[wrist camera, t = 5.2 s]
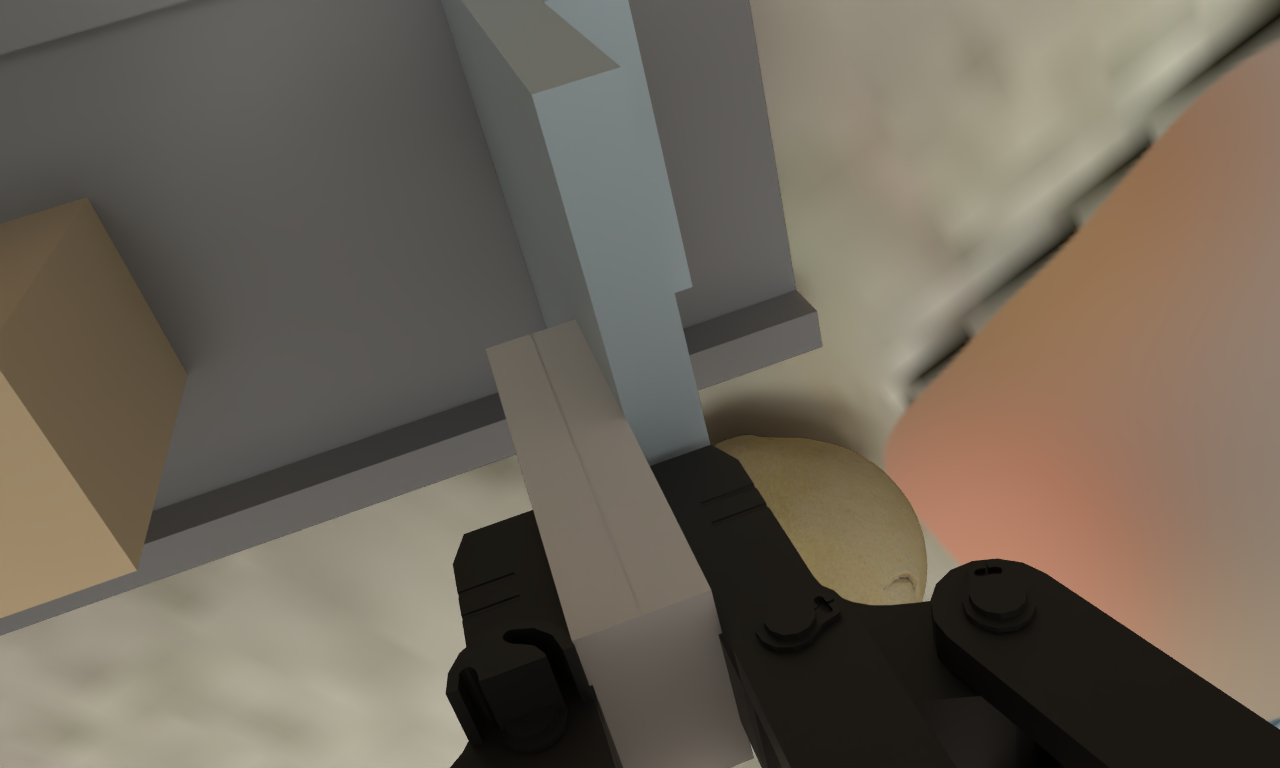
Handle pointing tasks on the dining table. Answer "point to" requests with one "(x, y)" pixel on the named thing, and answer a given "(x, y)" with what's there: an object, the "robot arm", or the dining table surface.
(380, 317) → the lane
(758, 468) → the potato
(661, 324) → the grey bookend
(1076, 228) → the dining table surface
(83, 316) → the stock carton
